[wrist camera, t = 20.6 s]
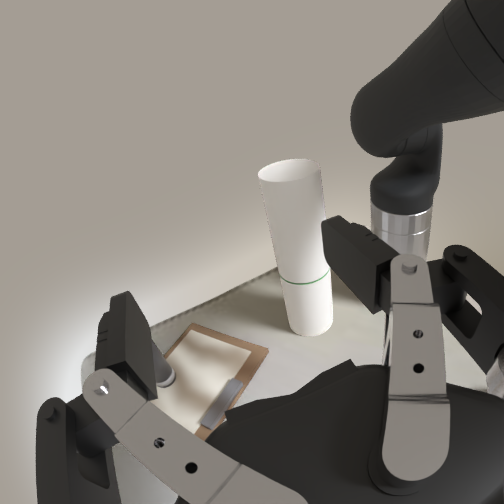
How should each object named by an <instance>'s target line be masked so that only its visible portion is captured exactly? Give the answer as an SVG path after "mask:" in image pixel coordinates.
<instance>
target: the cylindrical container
mask: <svg viewBox="0 0 504 504" xmlns="http://www.w3.org/2000/svg"><path fill="white" fill-rule="evenodd" d="M258 178H259V182H260V187H261V191H262V196H263V200H264V205H265V209H266V214H267V219H268V224H269V228H270V233H271V238H272V242H273V247H274V252H275V257H276V262H277V266H278V271H279V276H280V281H281V286H282V291H283V296H284V301H285V306H286V311H287V316H288V321H289V325H290V328H291V329H292V330H293V331H294V332H295V333H296V334H298V335H301V336H306V337H312V336H317V335H320V334H322V333H324V332H325V331H327V330H328V329H329V328H330V326H331V325H332V322H333V307H332V288H331V273H330V267H329V265H328V264H327V262H326V260H325V257H324V252H323V242H322V232H321V222H322V221H324V220H326V215H325V206H324V197H323V188H322V180H321V172H320V165H319V164H318V163H317V162H315V161H313V160H309V159H289V160H283V161H279V162H275V163H273V164H270V165H268V166H266V167H264V168H263V169H261V170H260V171H259V173H258Z"/></svg>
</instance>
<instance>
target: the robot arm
mask: <svg viewBox="0 0 504 504" xmlns="http://www.w3.org/2000/svg"><path fill="white" fill-rule="evenodd" d="M500 111H504V0H451V1H450V3H448V5H447V6H446V7H445V8H444V9H443V10H442V12H441V13H440V14H439V15H438V16H437V18H436V19H435V20H434V21H433V22H432V23H431V25H430V26H429V27H428V28H427V29H426V30H425V31H424V32H423V33H422V34H421V35H420V36H419V37H418V38H417V39H416V40H415V41H414V42H413V43H412V44H411V45H410V46H409V47H408V48H407V49H406V50H405V51H404V52H403V53H402V54H401V55H400V57H398V58H397V60H396V61H395V62H393V63H392V64H391V65H390V66H389V67H388V68H386V69H385V70H384V71H383V72H382V73H380V74H379V75H378V76H376V77H375V78H374V79H372V80H371V81H370V82H369V83H367V84H366V85H365V86H364V87H363V88H362V89H361V90H360V91H359V92H358V93H357V95H356V97H355V99H354V101H353V105H352V108H351V116H350V121H351V129H352V132H353V135H354V137H355V139H356V141H357V143H358V144H359V145H360V146H361V148H363V149H364V150H365V151H366V152H367V153H369V154H371V155H373V156H376V157H384V158H389V157H396V158H395V159H394V161H393V162H392V163H391V164H390V165H389V166H387V167H386V168H385V169H384V170H382V171H380V172H379V173H378V174H376V175H375V176H374V178H373V179H372V181H371V185H370V194H371V195H370V196H371V231H370V230H369V229H367V228H366V227H365V226H362V225H359V224H356V223H351V224H350V223H349V222H348V221H346V220H345V219H344V218H342V217H341V216H339V215H338V216H335V217H332V218H329V219H326V220H324V221H322V222H321V232H322V242H323V252H324V257H325V260H326V262H327V264H328V265H329V267H330V268H331V269H332V270H333V271H334V272H335V273H336V274H337V275H338V276H339V277H340V279H341V280H342V281H343V282H344V283H345V284H346V285H347V286H348V287H349V288H350V289H351V291H352V292H353V293H354V294H355V295H356V296H357V297H358V298H359V299H360V301H361V302H362V303H363V304H364V305H365V306H366V307H367V308H368V310H369V311H370V312H371V313H372V314H375V313H377V312H379V311H381V310H383V311H384V312H385V313H386V314H385V327H384V344H383V357H382V364H381V365H375V364H373V365H361V366H355V365H354V363H353V362H352V360H351V359H349V360H347V361H345V362H343V363H341V364H339V365H337V366H335V367H333V368H331V369H329V370H326V371H324V372H322V373H321V374H319V375H318V376H317V377H315V378H314V379H313V380H311V381H310V382H309V383H307V384H306V385H305V386H303V387H302V388H301V389H299V390H298V391H297V392H295V393H293V394H290V395H285V396H279V397H273V398H267V399H260V400H255V401H252V402H250V403H247V404H244V405H241V406H239V407H236V408H233V409H230V410H227V411H224V413H225V416H226V419H227V421H225V422H224V423H222V424H221V425H219V426H218V427H217V428H216V429H215V430H214V431H213V432H211V433H210V435H209V436H208V437H207V438H206V440H205V441H203V440H202V439H200V438H199V437H197V436H196V435H194V434H193V433H191V432H190V431H189V430H187V429H186V428H184V427H183V426H182V425H180V424H179V423H177V422H176V421H175V420H173V419H172V418H171V417H169V416H168V415H167V414H165V413H164V412H163V411H162V410H160V409H159V408H158V407H156V406H155V405H154V404H153V403H151V402H150V401H151V400H155V399H158V394H157V387H156V379H155V370H154V361H153V351H152V340H151V331H150V327H149V324H148V322H147V320H146V318H145V316H144V314H143V313H142V311H141V309H140V308H139V306H138V304H137V303H136V301H135V299H134V297H133V296H132V294H131V293H130V292H129V291H126V292H124V293H121V294H118V295H116V296H113V297H111V300H110V310H109V312H106V313H104V314H103V316H102V318H101V320H100V322H99V326H98V337H97V346H96V358H95V372H93V373H92V374H91V375H90V376H89V377H88V378H87V379H86V381H85V383H84V385H83V391H82V392H83V393H82V394H81V395H80V396H78V397H76V398H75V399H73V400H71V401H70V402H68V403H65V402H64V401H63V400H61V399H60V398H57V397H54V398H50V399H48V400H47V401H45V402H44V403H43V404H42V406H41V407H40V409H39V411H38V415H37V428H36V485H37V499H38V504H121V499H120V494H119V489H118V484H117V479H116V473H115V467H114V461H113V454H112V446H114V445H115V444H117V443H119V442H121V444H122V445H123V446H124V447H125V448H126V449H127V450H128V451H129V452H130V453H132V454H133V455H134V456H135V457H136V458H137V459H138V460H139V461H140V462H141V463H142V464H143V465H144V466H145V467H146V468H147V469H149V470H150V471H151V472H152V473H153V474H154V475H155V476H156V477H158V478H159V479H160V480H161V481H162V482H163V483H165V484H166V485H167V486H168V487H169V488H171V489H172V490H173V491H174V492H176V493H177V494H178V495H179V496H178V498H177V500H176V502H175V504H504V276H502V275H501V274H500V273H499V272H498V271H497V270H495V269H494V268H493V267H492V266H491V265H489V264H488V263H487V262H486V261H485V260H483V259H482V258H481V257H480V256H478V255H477V254H476V253H475V252H473V251H472V250H471V249H469V248H467V247H465V246H462V245H451V246H448V247H447V248H445V250H444V252H443V258H442V259H439V260H434V261H428V262H426V259H427V252H428V245H429V237H430V229H431V218H432V207H433V195H434V193H435V191H436V189H437V187H438V184H439V179H440V167H441V154H442V138H443V137H442V136H443V135H442V134H443V132H442V131H443V129H442V123H447V122H452V121H458V120H464V119H469V118H474V117H479V116H483V115H488V114H491V113H496V112H500ZM467 293H468V294H469V295H470V296H471V297H472V298H473V299H474V300H475V301H476V302H477V303H478V304H479V305H480V307H481V310H482V315H481V314H480V313H479V312H478V311H477V310H476V309H475V308H474V307H473V306H472V305H471V304H470V303H469V302H468V301H467V300H466V296H467ZM442 323H443V324H444V326H445V327H446V328H447V329H448V330H449V331H450V332H451V333H452V335H453V336H454V337H455V338H456V339H457V340H458V342H459V343H460V344H461V345H462V346H463V347H464V349H465V350H466V351H467V352H468V353H469V355H470V356H471V357H472V358H473V359H474V361H475V362H476V363H477V364H478V365H479V367H480V368H481V369H482V370H483V372H484V373H485V374H486V375H487V377H486V382H487V386H488V391H487V393H485V392H481V391H477V390H473V389H469V388H465V387H461V386H457V385H453V384H449V383H446V370H445V353H444V341H443V330H442Z"/></svg>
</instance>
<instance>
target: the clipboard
mask: <svg viewBox="0 0 504 504" xmlns="http://www.w3.org/2000/svg"><path fill="white" fill-rule="evenodd" d="M268 352H269V350H268V348H265V347H262V346H258V345H255V344H252V343H249V342H246V341H243V340H240V339H237V338H234V337H231V336H228V335H225V334H222V333H219V332H217V331H214V330H211V329H208V328H205V327H203V326H200V325H197V324H194V323H192V324H191V325H190V326H189V327H188V328H187V330H186V331H185V332H184V333H183V334H182V335H181V337H180V338H179V339H178V340H177V341H176V342H175V344H174V345H173V346H172V347H171V348H170V350H169V351H168V352H167V353H166V354H165V355H164V358H165V359H166V361H167V362H168V363H169V365H170V366H171V367H172V368H173V370H174V372H175V373H176V379H175V381H174V383H173V384H172V385H171V386H169V387H166V388H160V387H158V386H157V385H156V387H157V394H158V399H155V400H151V401H150V402H151V403H153V404H154V405H155V406H156V407H158V408H159V409H160V410H162V411H163V412H164V413H165V414H167V415H168V416H169V417H171V418H172V419H173V420H175V421H176V422H177V423H179V424H180V425H182V426H183V427H184V428H186V429H187V430H189V431H190V432H191V433H193V434H194V435H196V436H197V437H199V438H200V439H202V440H203V441H205V440H206V438H207V437H208V436H209V435H210V433H211V432H213V431H214V430H215V429H216V428H217V427H218V426H219V425H221V423H222V422H223V421H224V419H225V418H226V416H225V413H224V411H227V410H230V409H232V407H233V406H234V404H235V403H236V402H237V400H238V399H239V397H240V396H241V394H242V393H243V391H244V389H245V388H246V386H247V385H248V383H249V382H250V380H251V379H252V377H253V376H254V374H255V373H256V371H257V369H258V368H259V366H260V365H261V363H262V362H263V360H264V358H265V357H266V355H267V354H268Z"/></svg>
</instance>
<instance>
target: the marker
mask: <svg viewBox="0 0 504 504" xmlns="http://www.w3.org/2000/svg"><path fill="white" fill-rule="evenodd" d="M151 340H152V339H151ZM152 351H153V361H154V370H155V379H156V385H157V386H158V387H160V388H166V387H169V386H171V385H172V384H173V383H174V381H175V379H176V373H175V372H174V370H173V368H172V367H171V366H170V365H169V363H168V362H167V361H166V359H165V358H164V356H163V355H162V353H161V352H160V351H159V349H158V348H157V346H156V345H155V343H154V342H153V340H152Z"/></svg>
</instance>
